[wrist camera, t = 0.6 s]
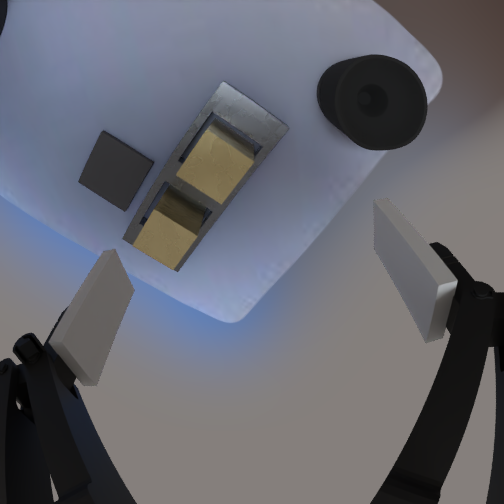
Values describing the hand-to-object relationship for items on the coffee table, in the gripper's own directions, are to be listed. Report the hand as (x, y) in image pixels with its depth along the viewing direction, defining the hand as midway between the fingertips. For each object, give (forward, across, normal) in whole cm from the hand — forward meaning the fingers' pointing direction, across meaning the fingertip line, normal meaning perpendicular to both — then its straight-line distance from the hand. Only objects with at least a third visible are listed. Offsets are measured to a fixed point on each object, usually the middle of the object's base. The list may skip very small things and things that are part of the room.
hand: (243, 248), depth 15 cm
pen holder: (+25, +13, +4) cm, 28 cm away
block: (+24, -3, 0) cm, 25 cm away
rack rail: (+24, -7, -4) cm, 26 cm away
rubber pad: (+24, -17, 0) cm, 30 cm away
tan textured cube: (+24, -11, -7) cm, 28 cm away
